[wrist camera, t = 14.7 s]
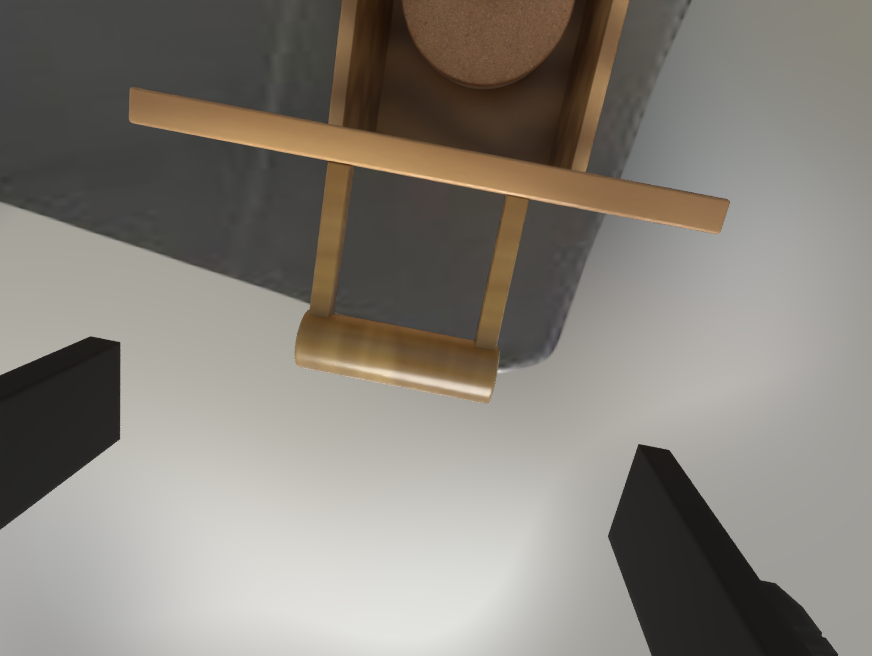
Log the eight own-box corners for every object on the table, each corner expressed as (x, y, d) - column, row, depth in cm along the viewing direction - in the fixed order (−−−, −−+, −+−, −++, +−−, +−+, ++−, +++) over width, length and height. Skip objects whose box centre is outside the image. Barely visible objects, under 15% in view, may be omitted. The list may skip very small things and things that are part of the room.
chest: (397, -97, 38) (364, -208, 27) (611, -58, 38) (668, -153, 27) (363, 156, 44) (324, 152, 32) (551, 192, 44) (578, 200, 32)
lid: (128, 85, 14) (121, 362, 16) (732, 199, 13) (646, 465, 15) (323, 144, 32) (308, 269, 34) (582, 193, 32) (551, 315, 34)
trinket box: (577, -41, 38) (608, -106, 29) (534, 115, 41) (550, 100, 32) (432, -78, 38) (419, -154, 29) (400, 82, 41) (379, 58, 32)
